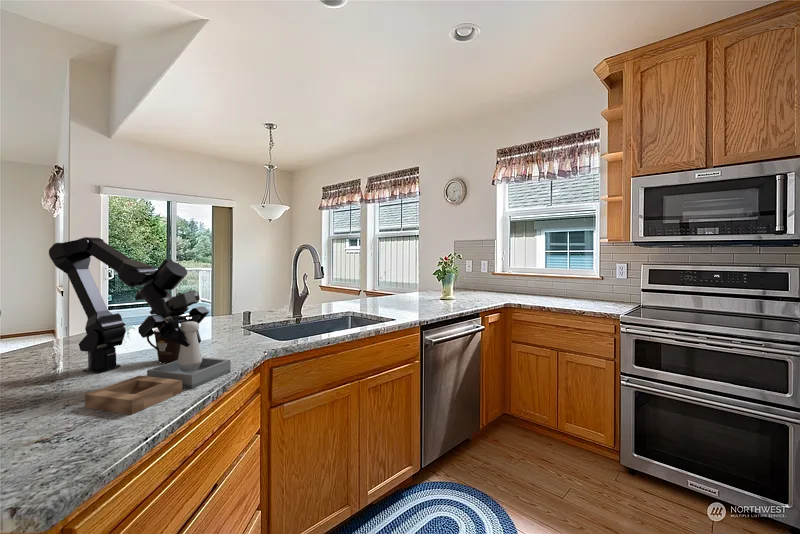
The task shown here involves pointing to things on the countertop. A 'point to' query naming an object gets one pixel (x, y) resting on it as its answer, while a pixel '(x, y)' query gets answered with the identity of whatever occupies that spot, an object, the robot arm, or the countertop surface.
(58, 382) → the countertop surface
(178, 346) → the coffee mug
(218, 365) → the tray
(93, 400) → the socket block
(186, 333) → the salt shaker
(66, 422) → the countertop surface
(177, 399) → the countertop surface
